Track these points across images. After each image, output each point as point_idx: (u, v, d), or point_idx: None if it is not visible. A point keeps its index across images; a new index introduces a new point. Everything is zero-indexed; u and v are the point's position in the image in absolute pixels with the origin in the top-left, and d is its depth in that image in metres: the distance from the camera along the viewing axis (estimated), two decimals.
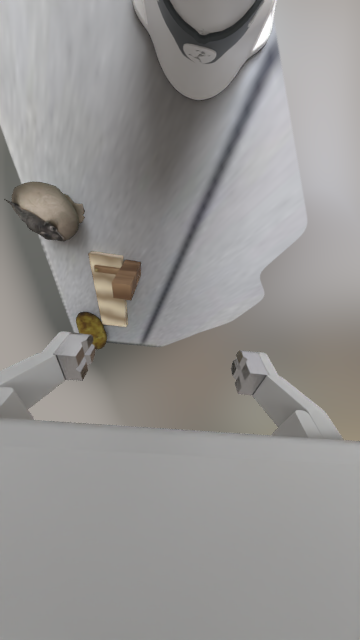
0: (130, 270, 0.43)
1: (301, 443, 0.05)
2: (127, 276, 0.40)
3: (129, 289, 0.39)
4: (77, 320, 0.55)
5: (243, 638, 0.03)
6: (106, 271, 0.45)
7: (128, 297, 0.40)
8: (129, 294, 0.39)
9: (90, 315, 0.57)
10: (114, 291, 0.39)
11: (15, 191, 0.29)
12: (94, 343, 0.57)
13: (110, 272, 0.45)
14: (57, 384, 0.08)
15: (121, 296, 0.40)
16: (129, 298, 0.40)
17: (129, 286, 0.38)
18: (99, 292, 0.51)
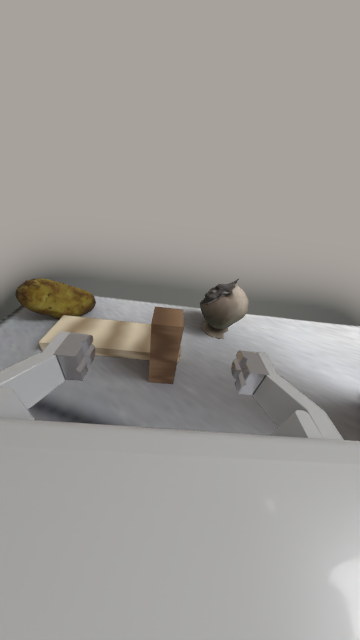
0: None
1: (301, 443, 0.05)
2: None
3: (174, 325, 0.22)
4: (88, 292, 0.40)
5: (243, 638, 0.03)
6: None
7: (157, 321, 0.22)
8: (164, 323, 0.22)
9: (87, 308, 0.39)
10: (167, 309, 0.25)
11: None
12: (39, 285, 0.33)
13: None
14: (57, 384, 0.08)
15: (158, 314, 0.23)
16: (155, 322, 0.22)
17: (180, 325, 0.22)
18: (126, 324, 0.36)
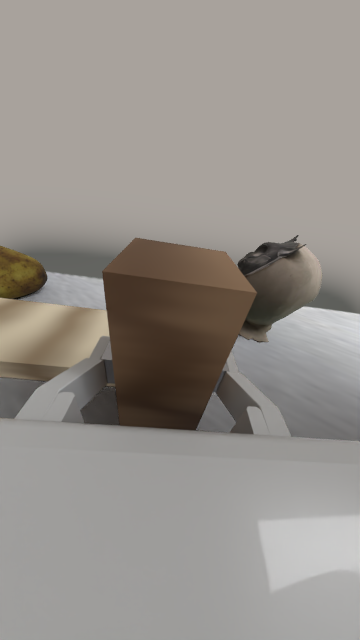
0: None
1: (301, 443, 0.05)
2: None
3: (213, 282, 0.05)
4: (32, 258, 0.23)
5: (243, 638, 0.03)
6: None
7: (135, 267, 0.05)
8: (165, 274, 0.05)
9: (26, 285, 0.22)
10: (177, 246, 0.07)
11: None
12: None
13: None
14: (101, 388, 0.08)
15: (142, 251, 0.06)
16: (124, 268, 0.05)
17: (241, 287, 0.05)
18: (92, 313, 0.19)
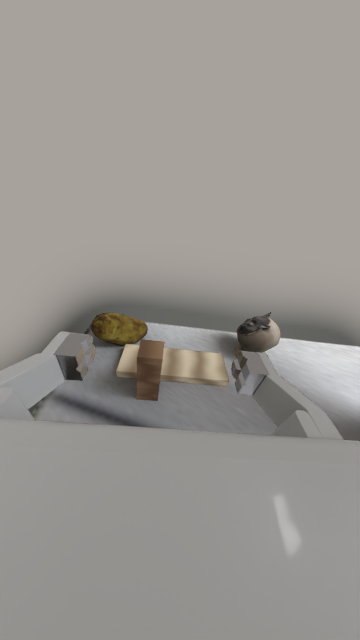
0: None
1: (301, 443, 0.05)
2: None
3: (155, 357, 0.28)
4: (142, 321, 0.47)
5: (243, 639, 0.03)
6: None
7: (141, 354, 0.28)
8: (147, 356, 0.28)
9: (142, 336, 0.46)
10: (151, 342, 0.30)
11: None
12: (110, 320, 0.40)
13: None
14: (57, 384, 0.08)
15: (143, 347, 0.29)
16: (140, 355, 0.28)
17: (160, 358, 0.28)
18: (178, 351, 0.43)
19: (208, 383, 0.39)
